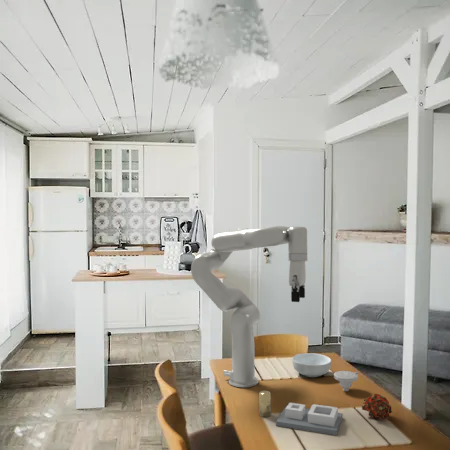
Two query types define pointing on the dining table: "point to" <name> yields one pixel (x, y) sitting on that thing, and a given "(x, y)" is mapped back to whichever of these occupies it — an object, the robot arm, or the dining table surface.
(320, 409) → the socket board
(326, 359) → the cereal bowl
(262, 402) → the gold rounded cylinder
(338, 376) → the showerhead
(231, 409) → the dining table surface
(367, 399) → the dragon fruit
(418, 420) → the dining table surface
